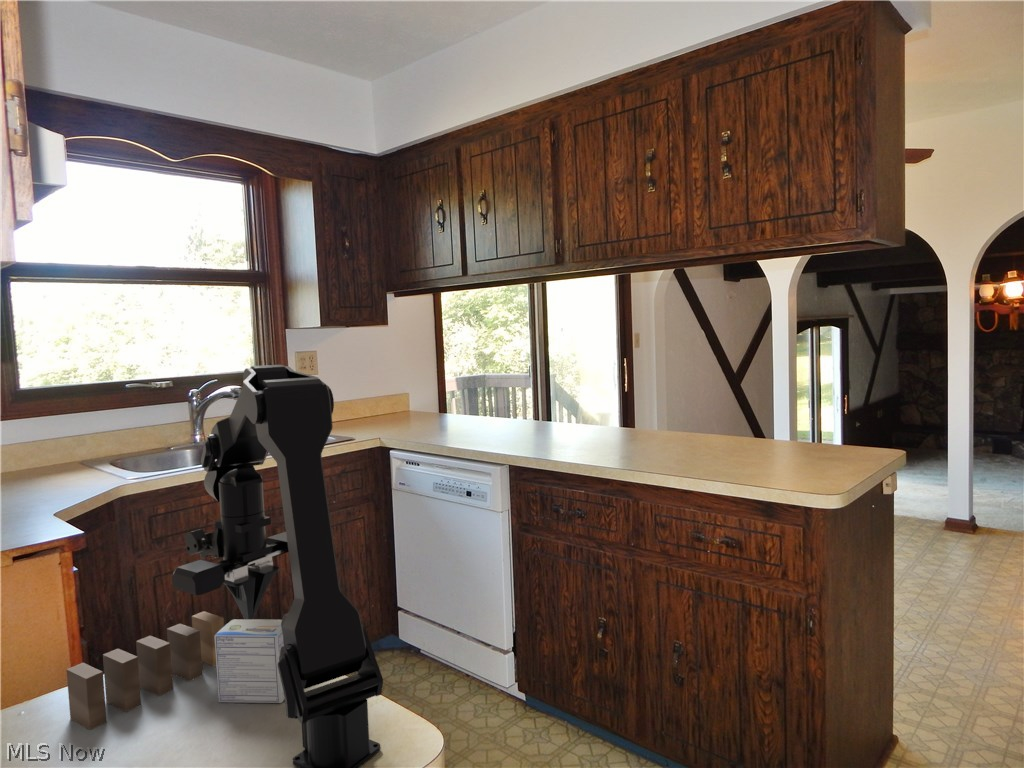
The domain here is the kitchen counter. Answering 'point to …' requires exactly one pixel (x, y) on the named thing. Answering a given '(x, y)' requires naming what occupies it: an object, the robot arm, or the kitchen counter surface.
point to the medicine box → (249, 661)
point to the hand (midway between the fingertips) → (249, 619)
